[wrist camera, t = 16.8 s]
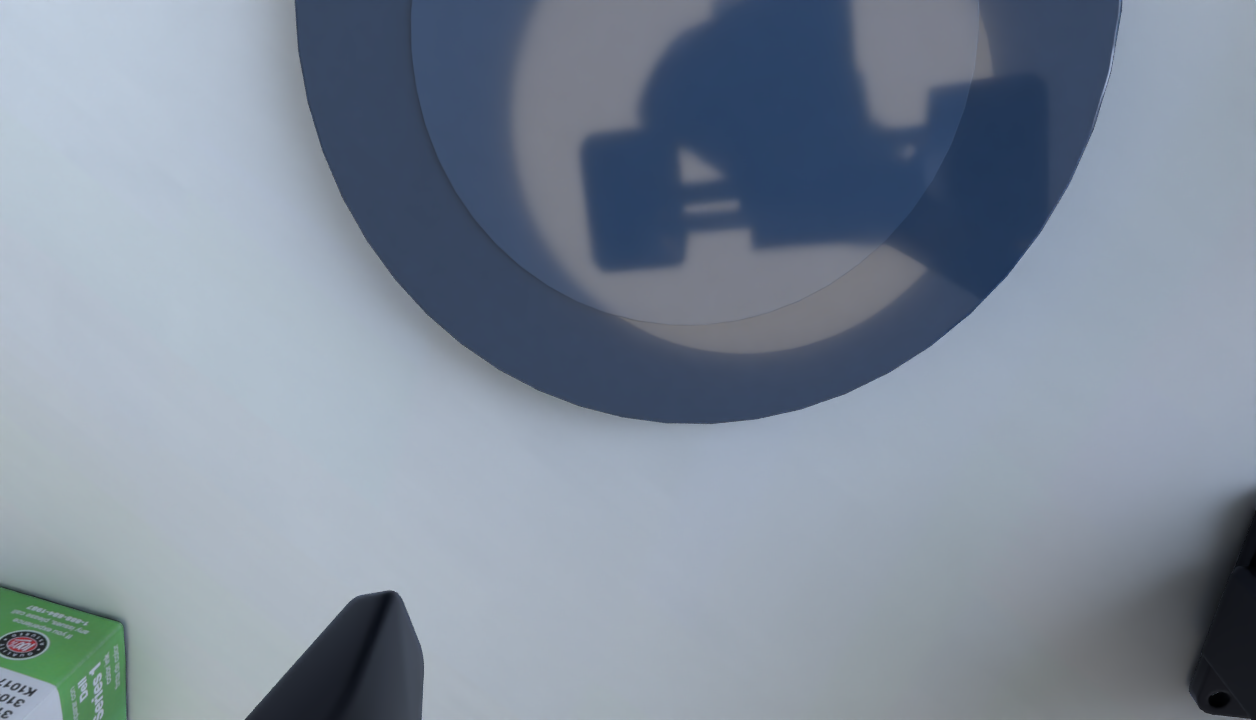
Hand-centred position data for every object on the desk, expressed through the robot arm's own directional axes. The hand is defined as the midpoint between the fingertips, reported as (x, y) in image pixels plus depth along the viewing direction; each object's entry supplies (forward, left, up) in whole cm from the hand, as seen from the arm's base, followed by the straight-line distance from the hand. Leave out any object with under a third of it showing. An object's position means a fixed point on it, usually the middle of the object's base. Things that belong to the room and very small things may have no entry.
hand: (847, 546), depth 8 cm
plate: (+2, -4, -11) cm, 12 cm away
